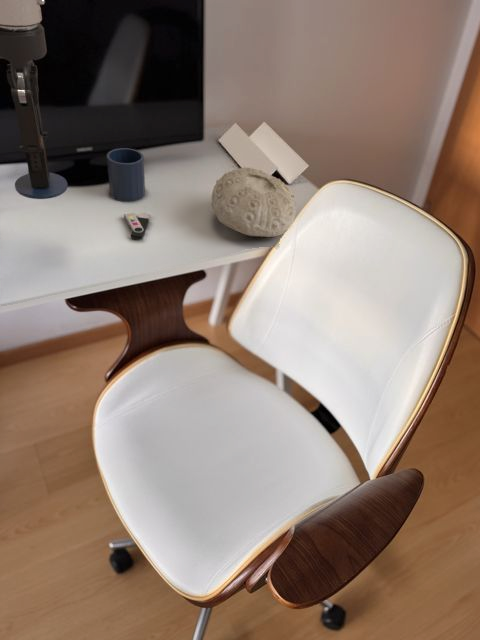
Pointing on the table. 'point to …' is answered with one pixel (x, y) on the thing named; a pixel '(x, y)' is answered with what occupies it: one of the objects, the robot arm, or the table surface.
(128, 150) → the tin
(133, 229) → the usb flash drive
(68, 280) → the table surface
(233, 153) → the z bracket
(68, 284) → the table surface
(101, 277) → the table surface
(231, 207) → the decorative shell
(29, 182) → the lid
